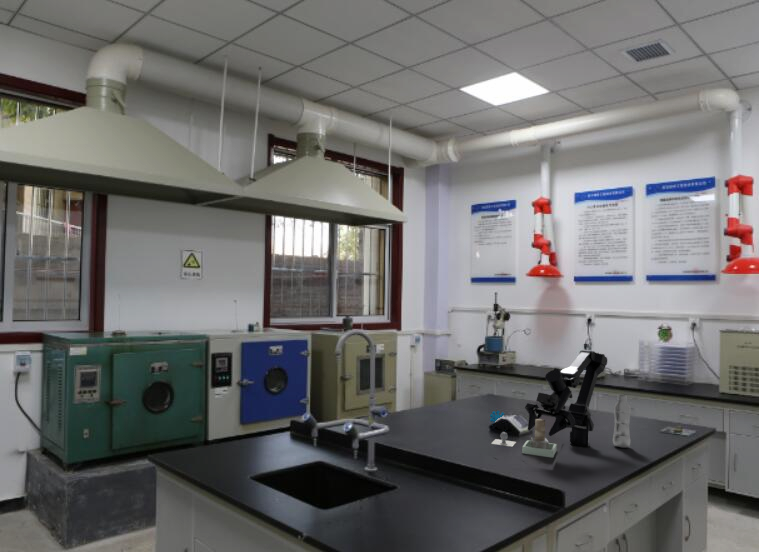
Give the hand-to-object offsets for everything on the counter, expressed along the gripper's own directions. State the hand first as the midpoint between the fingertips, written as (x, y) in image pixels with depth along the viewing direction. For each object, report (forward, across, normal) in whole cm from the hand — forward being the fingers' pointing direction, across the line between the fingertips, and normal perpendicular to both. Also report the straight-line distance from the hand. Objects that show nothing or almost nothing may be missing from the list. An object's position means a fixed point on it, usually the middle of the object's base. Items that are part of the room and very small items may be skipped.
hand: (538, 432), depth 202 cm
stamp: (+5, 0, +6) cm, 8 cm away
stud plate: (+7, -15, +5) cm, 17 cm away
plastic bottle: (-23, +8, +35) cm, 43 cm away
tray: (+5, 0, +6) cm, 8 cm away
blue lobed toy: (-8, -35, +21) cm, 42 cm away
